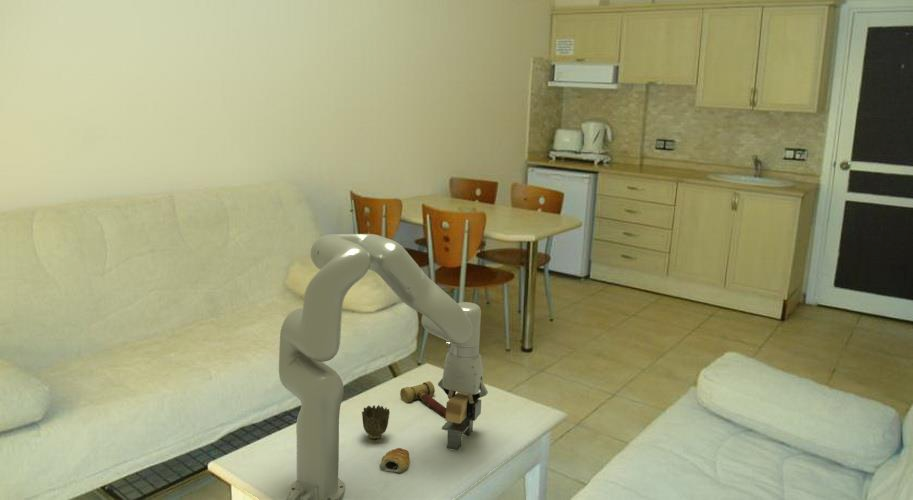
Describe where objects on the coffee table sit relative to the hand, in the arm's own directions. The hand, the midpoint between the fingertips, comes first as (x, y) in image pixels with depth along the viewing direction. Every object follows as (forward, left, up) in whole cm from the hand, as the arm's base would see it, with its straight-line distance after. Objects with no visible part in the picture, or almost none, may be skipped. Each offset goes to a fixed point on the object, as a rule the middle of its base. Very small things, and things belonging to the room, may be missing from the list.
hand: (461, 412), depth 192 cm
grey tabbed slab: (-4, 0, -8) cm, 9 cm away
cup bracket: (+5, 0, -8) cm, 10 cm away
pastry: (-19, +10, -9) cm, 23 cm away
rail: (-1, 0, 0) cm, 1 cm away
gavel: (+15, +14, -9) cm, 22 cm away
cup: (-9, +21, -8) cm, 24 cm away
